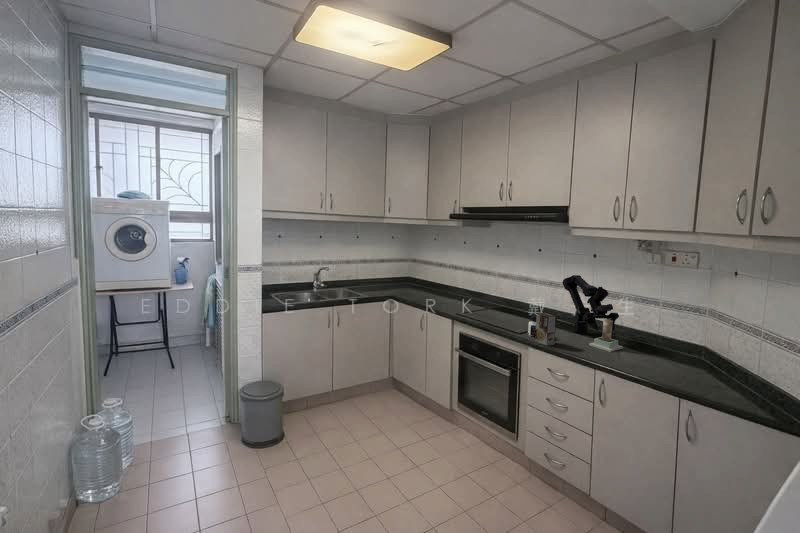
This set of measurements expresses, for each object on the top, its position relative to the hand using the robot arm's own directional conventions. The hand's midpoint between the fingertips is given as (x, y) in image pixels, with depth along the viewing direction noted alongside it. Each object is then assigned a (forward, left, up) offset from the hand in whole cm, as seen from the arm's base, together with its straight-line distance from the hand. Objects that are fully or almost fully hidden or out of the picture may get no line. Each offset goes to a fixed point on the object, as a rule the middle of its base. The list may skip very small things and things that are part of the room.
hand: (605, 330), depth 218 cm
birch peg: (+1, -1, -8) cm, 8 cm away
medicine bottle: (-32, -18, -9) cm, 38 cm away
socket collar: (+1, -1, -9) cm, 9 cm away
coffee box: (-20, -25, -9) cm, 33 cm away
